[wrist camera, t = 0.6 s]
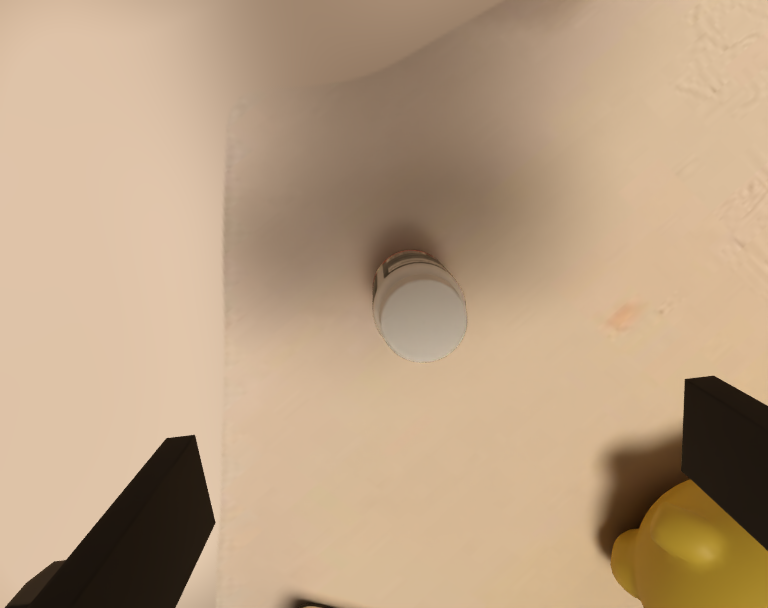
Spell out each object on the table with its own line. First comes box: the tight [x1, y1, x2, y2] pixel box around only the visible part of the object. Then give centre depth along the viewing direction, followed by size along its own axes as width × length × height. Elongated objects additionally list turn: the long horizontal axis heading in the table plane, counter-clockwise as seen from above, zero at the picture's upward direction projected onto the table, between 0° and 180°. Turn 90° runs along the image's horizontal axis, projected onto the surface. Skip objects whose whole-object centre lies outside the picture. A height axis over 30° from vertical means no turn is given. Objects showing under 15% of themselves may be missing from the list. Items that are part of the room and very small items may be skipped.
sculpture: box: [611, 479, 768, 608], centre depth 29 cm, size 15×13×13 cm
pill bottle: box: [373, 250, 467, 363], centre depth 26 cm, size 5×5×8 cm
